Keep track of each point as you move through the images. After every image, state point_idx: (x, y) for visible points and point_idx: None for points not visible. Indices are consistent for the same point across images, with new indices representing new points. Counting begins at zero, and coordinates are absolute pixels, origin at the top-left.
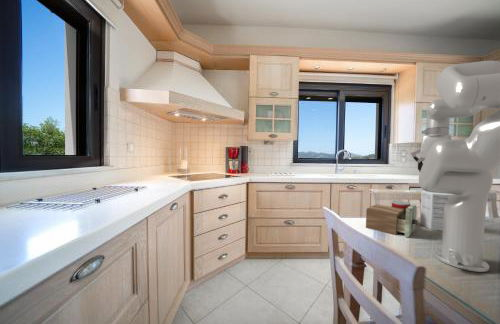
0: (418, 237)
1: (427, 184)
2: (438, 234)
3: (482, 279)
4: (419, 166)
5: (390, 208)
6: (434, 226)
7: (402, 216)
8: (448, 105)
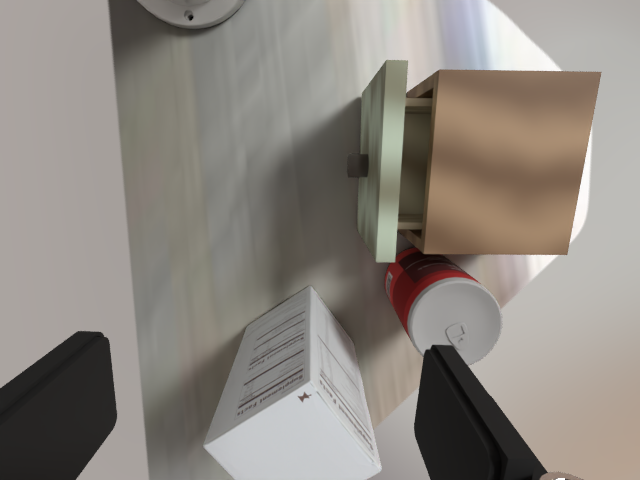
0: (333, 137)
1: None
2: (282, 243)
3: None
4: (488, 395)
5: (485, 201)
6: (300, 296)
7: (416, 221)
8: None
